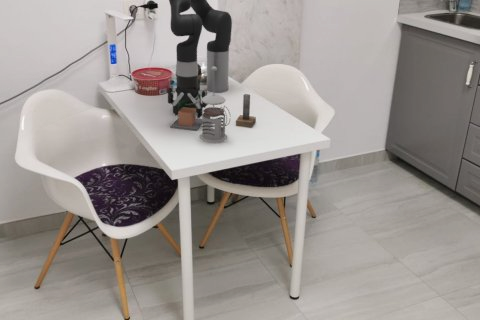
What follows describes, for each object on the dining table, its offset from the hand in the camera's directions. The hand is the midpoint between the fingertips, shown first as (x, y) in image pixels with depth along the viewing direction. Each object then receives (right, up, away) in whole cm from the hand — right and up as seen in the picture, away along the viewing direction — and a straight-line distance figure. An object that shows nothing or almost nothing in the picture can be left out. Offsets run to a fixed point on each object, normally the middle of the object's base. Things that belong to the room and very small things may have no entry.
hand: (187, 116), depth 193 cm
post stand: (+21, -2, +3) cm, 21 cm away
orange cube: (0, -2, +1) cm, 3 cm away
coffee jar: (-1, +3, +14) cm, 14 cm away
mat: (0, -3, +1) cm, 3 cm away
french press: (+10, -8, -9) cm, 16 cm away
